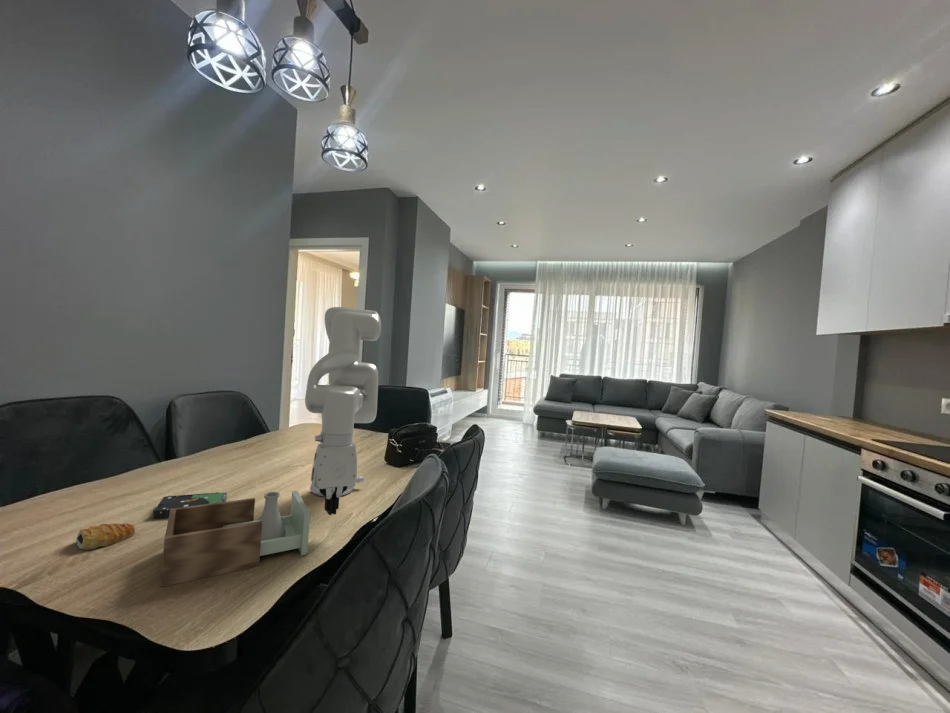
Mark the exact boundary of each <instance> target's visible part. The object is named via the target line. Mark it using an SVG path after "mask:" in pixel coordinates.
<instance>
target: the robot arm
mask: <svg viewBox="0 0 950 713" xmlns="http://www.w3.org/2000/svg"><path fill="white" fill-rule="evenodd" d="M324 327H325V328H324V329H325V332H326V335H327V339H328V344H329V345H328V353H327V354H325V355H324V356H323V357H321V358H320V359H319V360H318V361H316V363H315V364H314V365H313V367H311V369H310V372H309V374H308V377H307V384H306V389H305V397H304V404H305V408H306V410H307V411H308V412H309V413H311V414H321V431H320V433H319V435H315V436H314V442H318V444H317V446H316V449H315V453H314V458H313V462H312V468H311V476H310V477H311V478H310V479H311V481H310V482H311V483H310V487H309V491H310V492H312V493H313V494H314V495H316V496H320V497H325V498H324V511H325V512H326V513H327V515H329V516H332V515H336V514H337V510H338V509H339V506H340V498H341V497H342V496H345V495H349V494H350V493H351V492H353V491H354V487H355V486H356V484H357V483H363V482H364V480H365V479H364V476H361V475H360V476H358V457H357V456H358V454H357V453H358V452H357V445H356V444H355V443H353V442H354V439H353V438H354V427H355V426H354V425H355V424H371V423H373V422H374V421H375V419H376V417H377V413H378V412H377V411H378V398H379V397H378V394H379V370H378V368H377V366H376V364H374V363H370V362H363V361H361V362H359V361H358V360H359V358H360V348H361V347H360V346H361V342H360V341H368V342H369V341H370V342H374V341H375V342H376V341H378V340H379V338H380V337H381V336H380V335H381V332H382V319H381V318H380V315H379V313H378V312H377V311H376V310H371V309H370V310H369V309H363V308H355V307H345V306H332V307H330V308H328V309H326V311H325V313H324ZM326 375H328V384H319V383H320V380H321V379H322V378H323V377H324V376H326Z"/></svg>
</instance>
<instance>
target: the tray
mask: <svg viewBox="0 0 950 713" xmlns="http://www.w3.org/2000/svg"><path fill="white" fill-rule="evenodd" d="M289 513H290V514H289V515H288V514H287V515H282V516H281V515H280V516H281V519H282V522H283V525H284V528H285V531H286V532H285V537H281V538H275V539H270V540H265V541H261V546H260V557H262V556H266V555H271V554H272V555H273V554H276V553H281V552H286V551H291V550H296V549H298V551H299V553H300V555H301V556H305V555H307V554H308V549H309V547H308V546H309V538H310V537H309V536H310V535H309V534H310V523H311V511H310V510H309V508H308V506H307V505H306V503H305V501H304V500H303V498H302V496H301V495H300V492H299V491H298V490H292V491H291V500H290V512H289ZM253 522H259V519H256V520H253V521H249V522H243V523H236V524H230V525H224V526H223V527H228V526H234V525H241V524H247V523H253Z"/></svg>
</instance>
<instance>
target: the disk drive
mask: <svg viewBox="0 0 950 713" xmlns="http://www.w3.org/2000/svg"><path fill="white" fill-rule="evenodd" d="M227 498H228V493H227V492H219V491H218V492H211V493H195V494H194V493H193V494H181V495H179V494H178V495H168V496H163V498H162V499H161V500H160V502H159V503H158V504H157V507H155V508H154V509H153V513H152V519H153V520H160V519H161V520H162V519H168V518H169V513H170V509H173V508H181V507H188V506H196V505H204V504H212V503H220V502H227Z"/></svg>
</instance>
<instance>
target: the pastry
mask: <svg viewBox="0 0 950 713" xmlns="http://www.w3.org/2000/svg"><path fill="white" fill-rule="evenodd" d="M135 533H136V529H135V526H134V524H131V523H128V522H127V523H108V524H107V523H101V524H99V525H91V526H88V528H83V529H80V530H79V532H78V534H77V535H76V539H75V541H76V542H77V543H76V545H77V547H79V549H81V550H88V551H89V550H94V549H98V548H99V547H107V546H111V545H112V544H116V543H119V542H122V541H125V540H127V539H129V538H130V537H132V536H134V535H135Z"/></svg>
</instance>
